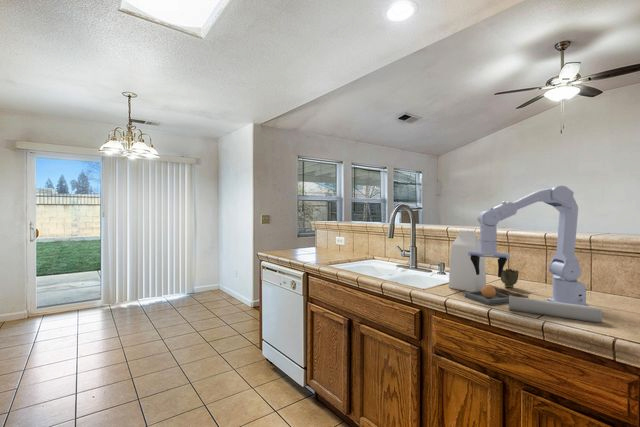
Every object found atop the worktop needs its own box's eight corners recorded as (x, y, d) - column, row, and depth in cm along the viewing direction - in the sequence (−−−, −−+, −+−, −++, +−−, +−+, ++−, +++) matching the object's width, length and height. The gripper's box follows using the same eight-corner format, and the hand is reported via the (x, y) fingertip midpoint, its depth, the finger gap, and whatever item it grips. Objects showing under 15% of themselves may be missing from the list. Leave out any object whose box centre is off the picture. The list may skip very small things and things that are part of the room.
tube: (600, 307, 99) (509, 295, 113) (604, 306, 95) (509, 294, 109) (601, 325, 98) (509, 311, 112) (605, 324, 94) (508, 310, 107)
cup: (513, 285, 144) (513, 268, 144) (522, 289, 137) (522, 271, 137) (496, 285, 145) (496, 268, 145) (504, 289, 138) (504, 271, 138)
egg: (497, 297, 122) (497, 285, 122) (493, 300, 119) (493, 287, 119) (484, 295, 126) (484, 283, 126) (479, 297, 122) (479, 285, 122)
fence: (528, 303, 117) (528, 295, 117) (525, 303, 116) (525, 295, 116) (489, 291, 134) (489, 284, 134) (487, 292, 133) (487, 285, 133)
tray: (513, 302, 118) (513, 297, 118) (488, 305, 115) (488, 300, 115) (488, 294, 130) (488, 290, 130) (464, 296, 126) (464, 292, 126)
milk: (448, 287, 142) (448, 230, 142) (459, 283, 150) (459, 229, 150) (475, 292, 133) (475, 231, 133) (486, 287, 141) (486, 230, 141)
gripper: (511, 241, 121) (511, 276, 121) (471, 239, 130) (471, 271, 130) (508, 242, 115) (508, 279, 115) (466, 240, 124) (466, 274, 125)
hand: (488, 275), depth 122 cm, fingers open, 7 cm apart
